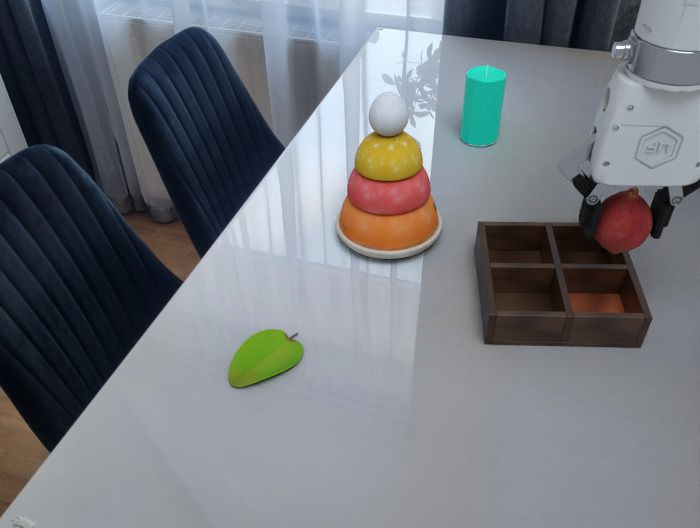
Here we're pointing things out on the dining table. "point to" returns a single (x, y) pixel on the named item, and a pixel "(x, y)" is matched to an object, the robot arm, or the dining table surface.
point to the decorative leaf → (264, 357)
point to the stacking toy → (388, 189)
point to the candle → (482, 105)
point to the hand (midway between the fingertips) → (620, 229)
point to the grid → (556, 288)
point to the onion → (624, 221)
